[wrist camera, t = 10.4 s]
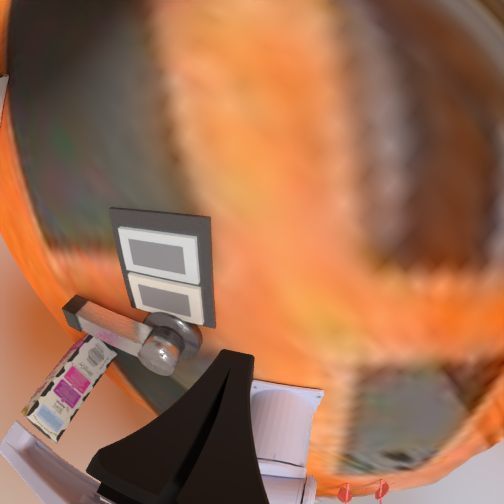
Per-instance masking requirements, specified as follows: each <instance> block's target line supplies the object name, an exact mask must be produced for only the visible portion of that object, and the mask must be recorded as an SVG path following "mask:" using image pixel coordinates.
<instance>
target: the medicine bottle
mask: <svg viewBox="0 0 504 504" xmlns="http://www.w3.org/2000/svg"><path fill="white" fill-rule="evenodd" d="M8 80H9V75H7V74H4V73H1V72H0V127H1V119H2V111H3V105H4V99H5V94H6V89H7V84H8Z"/></svg>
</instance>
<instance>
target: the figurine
mask: <svg viewBox="0 0 504 504" xmlns="http://www.w3.org/2000/svg"><path fill="white" fill-rule="evenodd" d="M382 481H383V479H381V481H380V488H379V489H378V490H377V491H376V494H375V498H376V499H380V504H381V498H383V497H384V496H385V495H386V494H387V493H388V491H389V486H388V484H387V483H384V484H383V485H382ZM393 484H394V483H393ZM390 485H391V484H390ZM348 488H349V483H347V488H346V490H345V488H341V489H340V491H339V492H338V498H339V500H340V501H341V502H343V503H345V504H346V503H347V502H350V501H351V498H352V494H351V492H350V491H351V490H348ZM376 488H378V487H376ZM370 489H373V488H370ZM361 490H367V489H361Z"/></svg>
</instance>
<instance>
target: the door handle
mask: <svg viewBox="0 0 504 504" xmlns="http://www.w3.org/2000/svg"><path fill="white" fill-rule="evenodd" d="M62 310H63V312H64V315H65V317H66V320H67V322H68V325H69V326H71V327H73V328H75V329H76V330H78V331H80V332H81V331H84V332H86V333H88V334H90V335H92V336H94V337H96V338H98V339H100V340H102V341H104V342H106V343H108V344H110V345H112V346H114V347H116V348H118V349H121V350H123V351H125V352H127V353H130V354H132V355H134V356H136V357H138V358H139V360H140V361H141V363H142V364H143V365H144V366H145V367H147V368H148V369H149V370H151V371H153V372H155V373H157V374H159V375H163V376H169V375H171V374H172V373H173V371H174V369H175V367H176V365H177V363H178V361H179V360H180V358H181V356H182V354H183V352H184V350H185V343H184V341H183V340H182V339H181V337H180V336H179V335H177V334H176V333H175V332H173V331H171V330H169V329H167V328H163V327H157V328H153V327H150V326H148V325H145V324H142V323H140V322H137V321H135V320H132V319H130V318H127V317H125V316H122V315H120V314H117V313H115V312H113V311H110V310H108V309H106V308H103V307H101V306H99V305H96V304H94V303H92V302H90V301H88V300H87V299H85V298H82V297H80V296H78V295H75V296H74V297H73V298H72V299H71V300H70V301H69V302H68V303H67V304H66V305H65V306H64V307H63V308H62Z"/></svg>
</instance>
